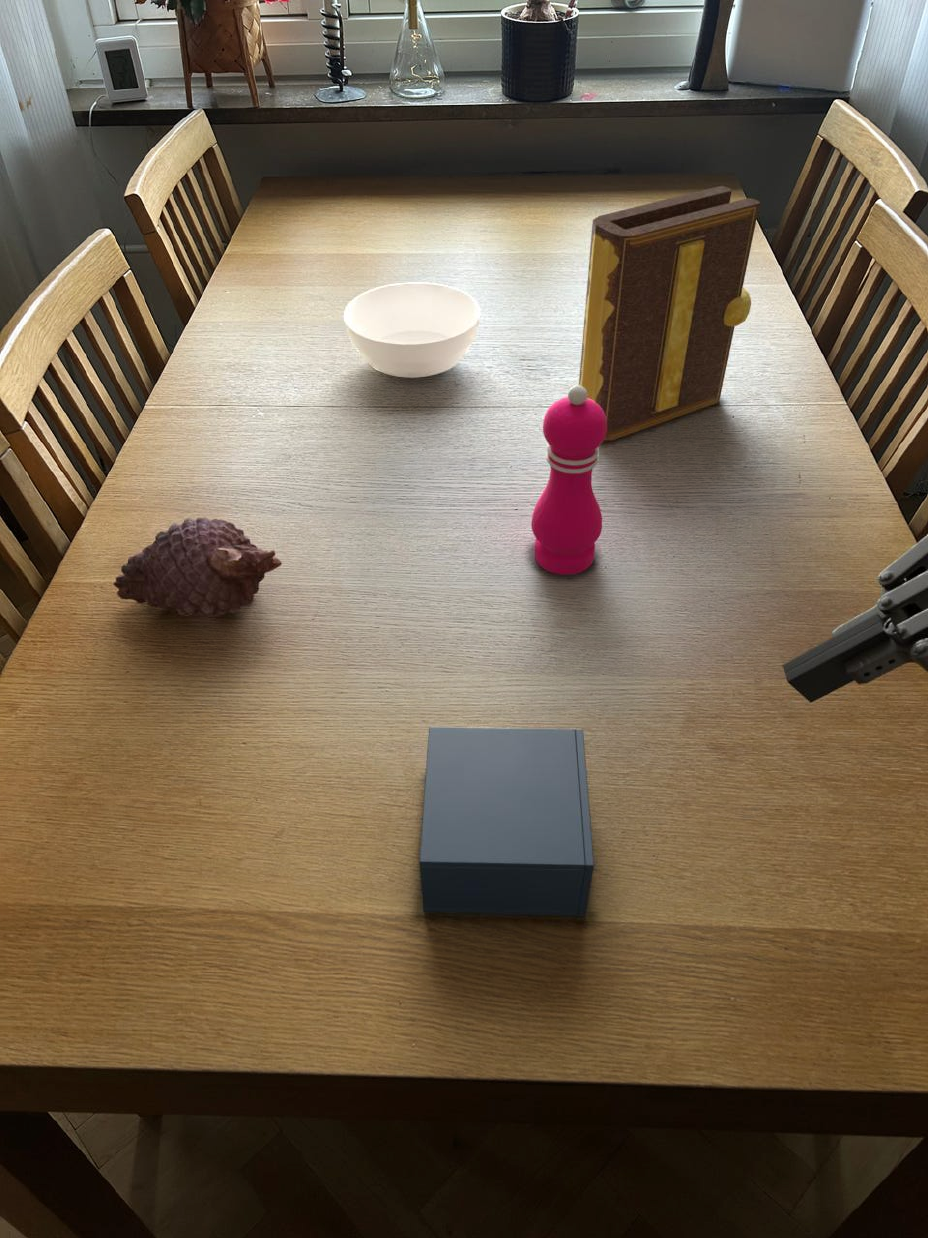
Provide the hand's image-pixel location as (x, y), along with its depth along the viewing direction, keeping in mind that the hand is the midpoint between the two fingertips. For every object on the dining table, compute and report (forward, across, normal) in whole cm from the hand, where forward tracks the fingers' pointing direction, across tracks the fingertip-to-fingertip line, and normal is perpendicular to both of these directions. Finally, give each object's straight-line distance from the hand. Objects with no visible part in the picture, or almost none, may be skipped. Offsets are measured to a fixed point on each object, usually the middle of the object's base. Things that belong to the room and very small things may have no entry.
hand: (796, 683), depth 59 cm
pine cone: (+48, +28, +20) cm, 59 cm away
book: (+12, +65, -15) cm, 68 cm away
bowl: (+35, +77, +8) cm, 85 cm away
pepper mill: (+22, +36, -6) cm, 42 cm away
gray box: (+20, 0, -3) cm, 20 cm away
